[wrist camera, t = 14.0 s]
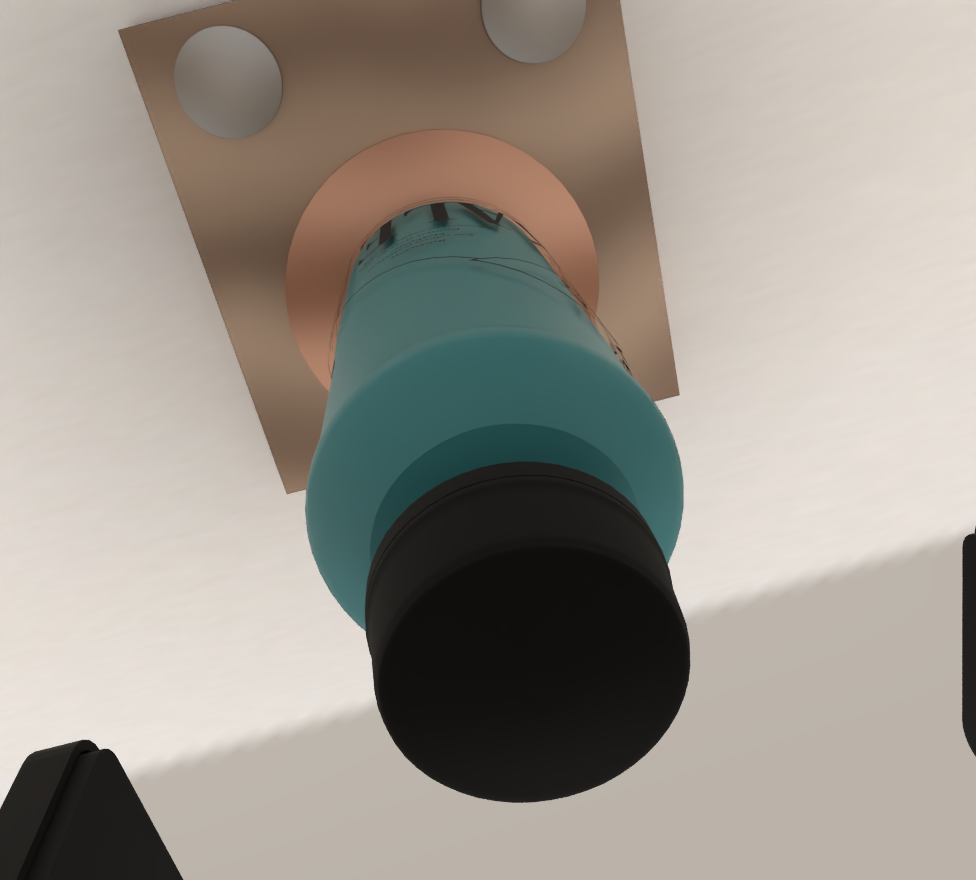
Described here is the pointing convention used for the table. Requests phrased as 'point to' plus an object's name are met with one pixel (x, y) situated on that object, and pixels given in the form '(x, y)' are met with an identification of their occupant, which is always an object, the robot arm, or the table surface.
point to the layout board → (396, 165)
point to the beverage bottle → (497, 513)
